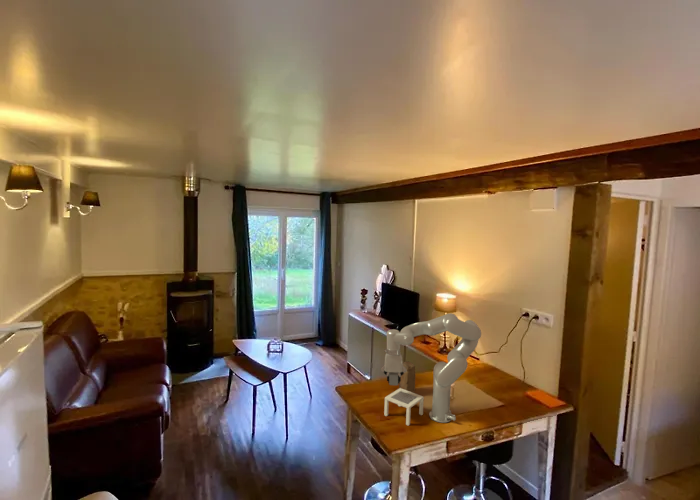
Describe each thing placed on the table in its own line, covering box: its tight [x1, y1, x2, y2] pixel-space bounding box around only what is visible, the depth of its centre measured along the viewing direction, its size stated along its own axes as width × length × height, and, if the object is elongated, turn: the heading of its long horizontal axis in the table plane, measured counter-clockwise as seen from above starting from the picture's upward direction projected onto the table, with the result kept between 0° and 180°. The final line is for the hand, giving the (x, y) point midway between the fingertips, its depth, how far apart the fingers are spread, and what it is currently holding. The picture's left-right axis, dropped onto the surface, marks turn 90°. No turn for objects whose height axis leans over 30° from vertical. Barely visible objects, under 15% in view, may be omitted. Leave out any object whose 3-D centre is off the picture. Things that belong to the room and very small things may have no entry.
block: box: [398, 361, 416, 393], centre depth 239 cm, size 11×8×20 cm
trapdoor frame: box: [383, 387, 425, 426], centre depth 213 cm, size 16×16×10 cm
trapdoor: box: [392, 392, 417, 404], centre depth 213 cm, size 10×10×1 cm
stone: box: [388, 372, 399, 386], centre depth 213 cm, size 5×5×6 cm
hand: (393, 382), depth 214 cm, fingers closed on stone, 5 cm apart
